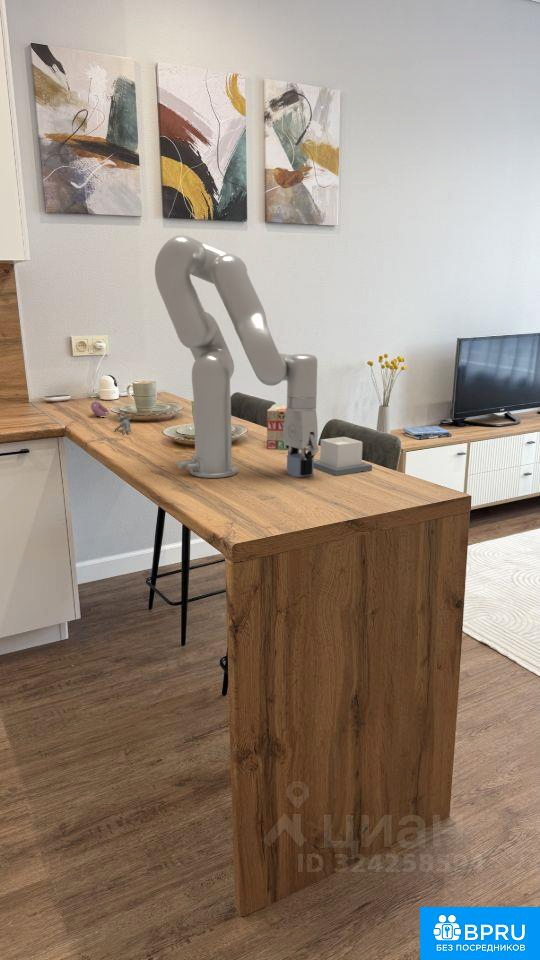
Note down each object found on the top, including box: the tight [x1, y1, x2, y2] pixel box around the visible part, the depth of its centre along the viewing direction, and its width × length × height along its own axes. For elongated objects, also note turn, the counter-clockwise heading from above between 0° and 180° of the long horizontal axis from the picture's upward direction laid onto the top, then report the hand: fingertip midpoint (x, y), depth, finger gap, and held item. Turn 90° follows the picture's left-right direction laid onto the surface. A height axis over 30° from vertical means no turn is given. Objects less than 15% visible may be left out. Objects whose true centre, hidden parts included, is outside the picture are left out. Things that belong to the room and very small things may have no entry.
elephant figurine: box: [113, 412, 137, 435], centre depth 238 cm, size 10×6×9 cm
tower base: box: [313, 436, 373, 477], centre depth 189 cm, size 12×12×8 cm
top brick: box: [286, 452, 315, 478], centre depth 183 cm, size 5×5×5 cm
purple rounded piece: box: [90, 401, 109, 418], centre depth 270 cm, size 10×5×7 cm, turn 7°
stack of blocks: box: [266, 403, 288, 451], centre depth 222 cm, size 21×6×12 cm, turn 170°
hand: (300, 471), depth 183 cm, fingers closed on top brick, 4 cm apart
